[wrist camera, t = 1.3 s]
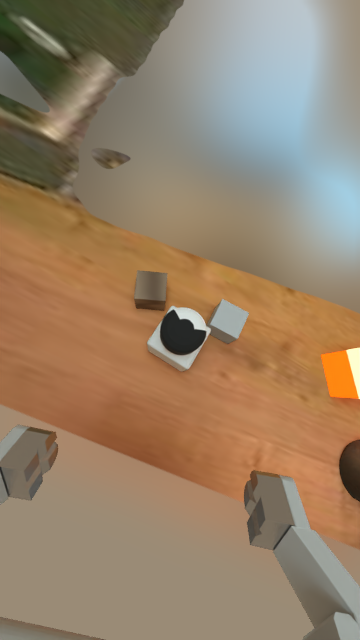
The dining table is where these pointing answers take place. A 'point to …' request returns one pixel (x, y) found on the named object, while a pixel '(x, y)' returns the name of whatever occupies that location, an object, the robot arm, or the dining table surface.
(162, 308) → the walnut block
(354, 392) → the orange juice
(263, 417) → the dining table surface
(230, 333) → the grey painted block
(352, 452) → the pillar candle
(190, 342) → the medicine bottle
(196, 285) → the dining table surface
